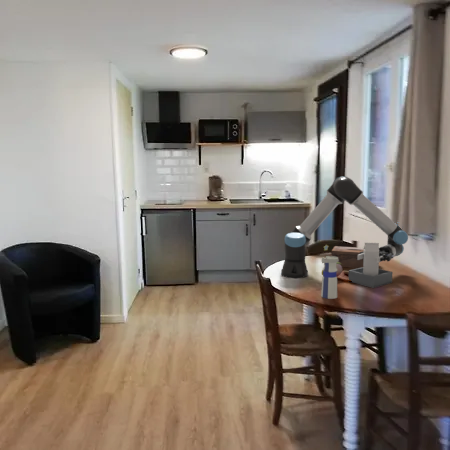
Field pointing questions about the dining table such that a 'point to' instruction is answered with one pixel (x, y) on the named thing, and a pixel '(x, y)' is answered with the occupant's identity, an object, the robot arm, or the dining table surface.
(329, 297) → the water bottle
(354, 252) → the tissue box cover
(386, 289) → the dining table surface
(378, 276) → the bin
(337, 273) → the decorative fruit
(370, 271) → the milk carton
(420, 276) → the dining table surface
